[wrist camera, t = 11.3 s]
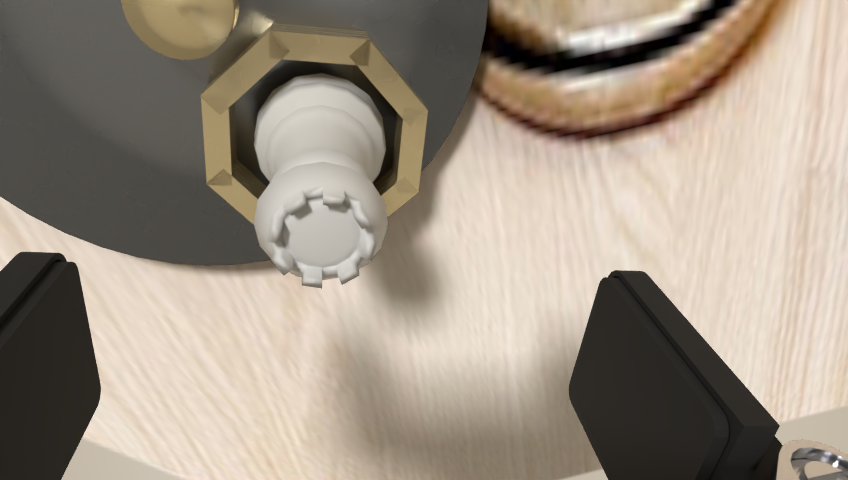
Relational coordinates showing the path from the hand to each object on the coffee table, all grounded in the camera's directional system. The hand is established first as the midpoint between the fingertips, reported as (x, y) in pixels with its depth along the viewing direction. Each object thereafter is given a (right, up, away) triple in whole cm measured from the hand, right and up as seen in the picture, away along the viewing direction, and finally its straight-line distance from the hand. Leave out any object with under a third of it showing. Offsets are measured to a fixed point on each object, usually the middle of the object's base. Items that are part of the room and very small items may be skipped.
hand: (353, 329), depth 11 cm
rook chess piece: (-2, +5, +10) cm, 12 cm away
